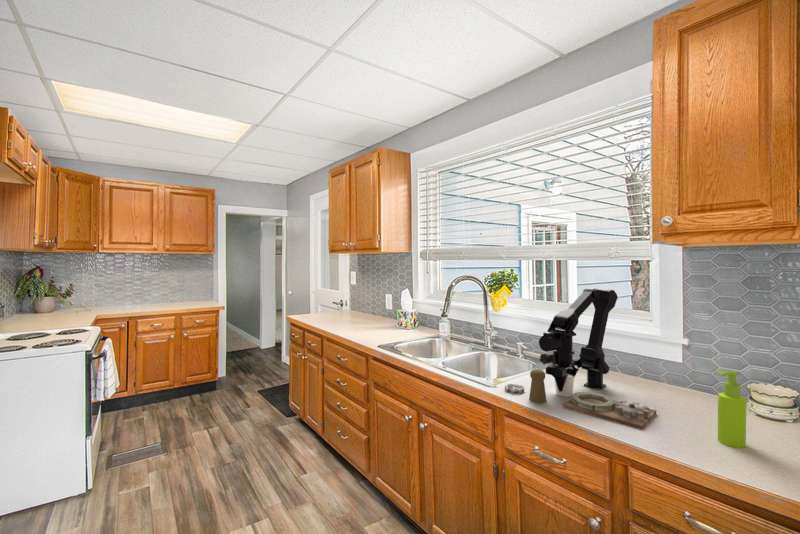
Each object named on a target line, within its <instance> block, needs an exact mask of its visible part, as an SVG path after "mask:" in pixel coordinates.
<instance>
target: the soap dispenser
mask: <svg viewBox="0 0 800 534" xmlns="http://www.w3.org/2000/svg"><path fill="white" fill-rule="evenodd" d="M716 375H720V376H723V377H725V376H727V381H724V383H723V392H719V393H718V395H717V441H718V442H719V443H720V444H722V445H724V444H725V446H727V447H731V448H736V449H744V448H746V446H747V397H745V396H743V395H741V384H740V383H738V382H737V376H741V372H739V371H736V370H727V369H726V370H719V371H716Z"/></svg>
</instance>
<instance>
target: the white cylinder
mask: <svg viewBox="0 0 800 534" xmlns="http://www.w3.org/2000/svg"><path fill="white" fill-rule="evenodd" d="M566 375H568V376H567V379H566V382H565V385H564V388H563V390H562V392H561V391H559V390H558V387H557V384H556V381H555V380H554V383H555V385H554V386H555V394H556V395H557V396H561V397H567V398H568V397H569V398H570V397H571V395H573V394H574V393H573V391H574V390H573V389H574V381H575V377H574V376H573V375H570V374H566Z"/></svg>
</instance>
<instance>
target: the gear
mask: <svg viewBox="0 0 800 534" xmlns="http://www.w3.org/2000/svg"><path fill="white" fill-rule="evenodd" d="M505 389H506V390H505ZM504 390H505V392H506V391H507V392H506V393H510V392H511V393H515V394H518V393H522V394H523V392H524V391H525V387H524V385H521V384H520V385H519V384H517V383H514V384H513V383H507V385H506V384H505V385H504ZM511 393H510V394H511ZM524 393H525V392H524Z"/></svg>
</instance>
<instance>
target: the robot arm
mask: <svg viewBox="0 0 800 534" xmlns="http://www.w3.org/2000/svg"><path fill="white" fill-rule="evenodd" d="M618 298H619V297H618V293H616V291H615V290H613V289H609V288H608V289H606V288H604V289H603V288H592V287H586V288H584V289H583V292H582V293H581V294H580V295H579V296H578V297H577V298H576V299H575V301H573V303H571V304H570V306H569V307H568V308H567V309H564V310H561V311H559V312H558V313H556V314H555V315H554V316H553V318H552V321H551V323H550V325H549V326H548V329H547V331H546V332H543V333H542V334H543V335H542V336H541V337H540V338H539V340H538V344H539V348H540V349H541V350H542V351H543V352H544V353H541V354H540V356H539V361H540V362H541V363H542V365H547V364H550V365H548V366H547V367H545V375H550V376H552V377H553V378H554V382H555V381H556V384H557V387H558V390H559V391H561V392H562V390H563V388H564V385H565V382H566V379H567V376H568V375H566V374H570V375H573V376H574V378H575V377H576V376H577V373H578V372H579V370H580V369H582V370H586V382H585V383H584V384H583V387H588V388H590V389H591V388H592V389H596V390H599V391H600V390H603V389H604V388H605V387H607V384H605V383H604V375H607V374H608V373H609V372H610V366H609V364H607V362H606V361H605V358H606V357H605V356H606V355H605V352H604V349H603V343H604V337H605V334H606V333H605V332H606V329H607V328H606V327H607V323H608V318H609V314H610V312H611V311H612V310H613V309H614V307H615V306H616V303H617V301H618ZM591 305H593V307H594V313H593V318H592V324H591V328H590V333H589V337H588V342H587V345H585V346H582V347H581V348H580V352H579V356H578V357H579V358H575V357H573V355H574V354H575V350H574V349H573V337H575V336H577V333H576V332H575V331H574V330H575V329H576V327H577V325H578V324H579V318H580V316H581V315H583V313H585V311H586V310H587V309H588V308H589V306H591ZM551 351H552V352H551ZM545 352H546V353H545ZM547 352H551V353H547ZM551 363H552V364H551Z"/></svg>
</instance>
